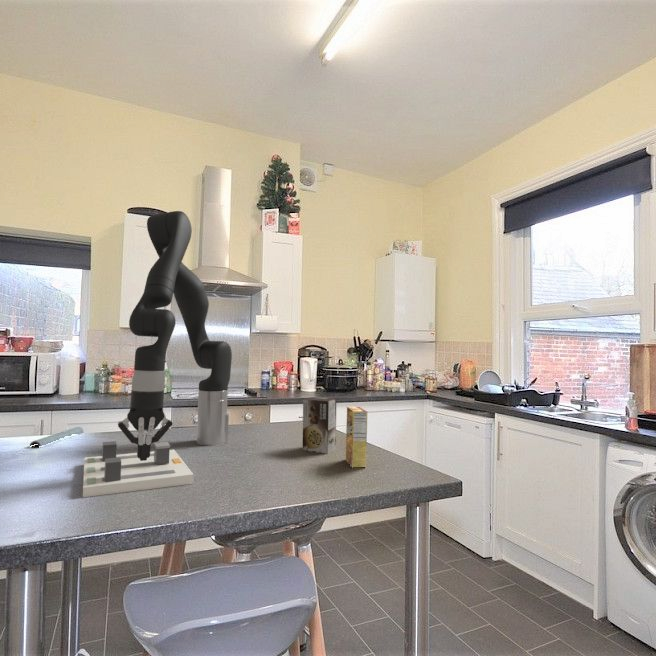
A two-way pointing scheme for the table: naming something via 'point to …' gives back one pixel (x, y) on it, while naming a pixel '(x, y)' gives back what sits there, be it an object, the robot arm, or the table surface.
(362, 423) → the candy box
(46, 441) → the aluminum foil
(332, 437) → the cookie box
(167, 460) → the block
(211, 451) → the table surface
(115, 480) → the breaker panel
